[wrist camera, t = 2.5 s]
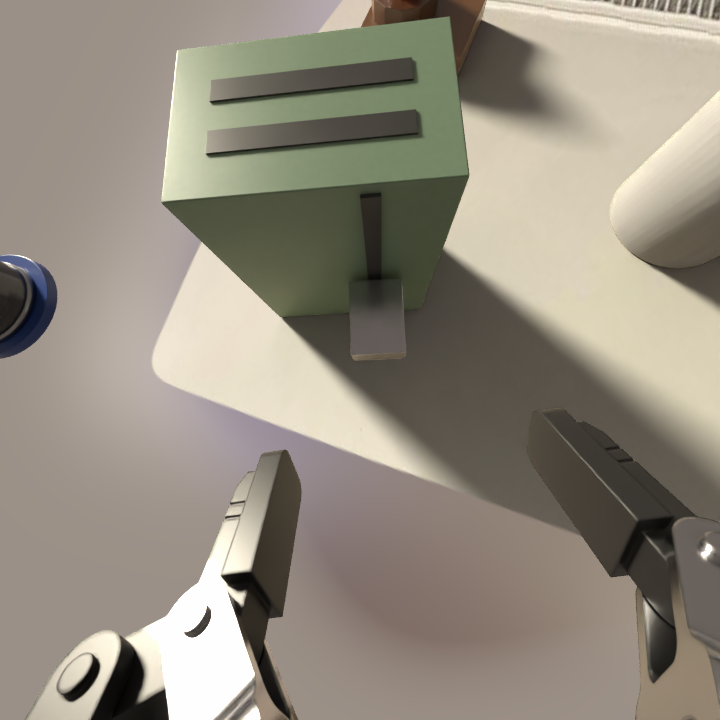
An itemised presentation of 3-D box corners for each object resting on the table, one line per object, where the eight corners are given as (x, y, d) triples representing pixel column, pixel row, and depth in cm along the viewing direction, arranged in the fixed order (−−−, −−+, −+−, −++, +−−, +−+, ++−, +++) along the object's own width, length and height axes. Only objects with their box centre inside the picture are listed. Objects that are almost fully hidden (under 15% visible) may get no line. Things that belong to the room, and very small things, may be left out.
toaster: (280, 319, 27) (158, 205, 12) (281, 236, 29) (175, 47, 14) (421, 311, 26) (471, 178, 12) (414, 225, 28) (450, 13, 13)
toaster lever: (353, 361, 20) (350, 355, 18) (351, 293, 21) (348, 281, 19) (404, 358, 20) (406, 352, 18) (399, 290, 21) (401, 277, 19)
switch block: (358, 60, 32) (354, 11, 28) (387, 0, 33) (388, -55, 29) (454, 83, 31) (465, 34, 27) (481, 19, 32) (495, -37, 28)
